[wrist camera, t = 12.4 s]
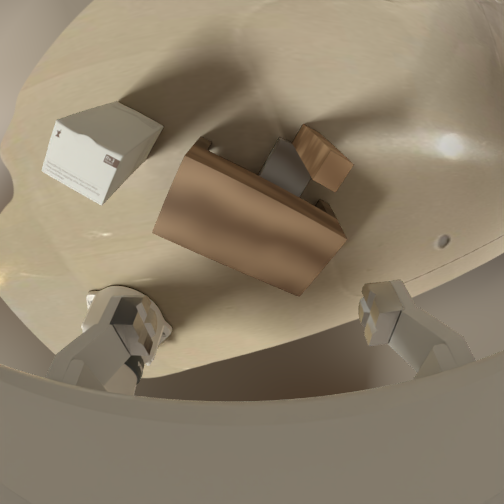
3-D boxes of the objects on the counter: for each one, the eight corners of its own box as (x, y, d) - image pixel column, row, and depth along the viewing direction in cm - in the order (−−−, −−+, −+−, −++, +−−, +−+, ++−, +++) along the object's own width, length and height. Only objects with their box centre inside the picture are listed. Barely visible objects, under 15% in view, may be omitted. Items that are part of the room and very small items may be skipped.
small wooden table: (291, 254, 45) (299, 296, 37) (171, 198, 39) (151, 232, 31) (328, 204, 40) (347, 239, 32) (200, 136, 34) (184, 155, 27)
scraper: (291, 117, 33) (312, 139, 21) (330, 139, 34) (369, 174, 23) (231, 224, 42) (223, 289, 30) (267, 240, 43) (273, 307, 32)
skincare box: (100, 135, 34) (36, 172, 21) (118, 98, 31) (52, 117, 18) (148, 162, 36) (99, 211, 24) (168, 125, 33) (122, 156, 21)
